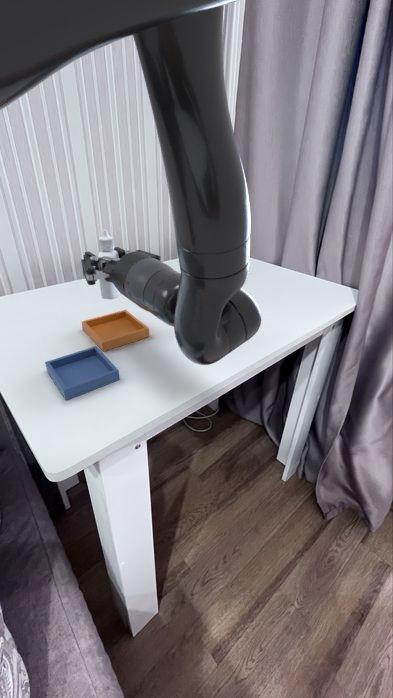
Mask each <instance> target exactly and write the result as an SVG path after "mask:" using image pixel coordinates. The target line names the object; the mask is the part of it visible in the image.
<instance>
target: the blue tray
mask: <svg viewBox="0 0 393 698" xmlns="http://www.w3.org/2000/svg"><path fill="white" fill-rule="evenodd" d="M44 365H45V368H46V372H47V373H48V376H49V377H50V378H51V380H52V381H53V383H54V384H55V386H56V387H57V389H58V391H59V392H60V393H61V395H62V397H63V398H64V400H65V401H68V400H70V399H74V398H76V397H78V396H81V395H83V394H86V393H89V392H91V391H94V390H98V389H99V388H102V387H105V386H107V385H111V384H112V383H115V382H118V381H119V380H121V378H120V372H119V368H118V367H116V365H115V364H114V363H113V362H112V361H111V360H110V359H109V358H108V357H107V356H106V354H104V353H103V351H102V350H101V349H100V348H99V347H98V346H97V345H95V346H92V347H88V348H85V349H82V350H79V351H76V352H73V353H70V354H67V355H63V356H60V357H56V358H53V359H51V360H47V361H45V362H44Z"/></svg>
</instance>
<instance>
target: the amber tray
mask: <svg viewBox="0 0 393 698" xmlns="http://www.w3.org/2000/svg"><path fill="white" fill-rule="evenodd" d="M81 328H82V331H83V332H84V333H85V334H86V335H87V336H88V337H89V338H90V340H92V342H94V344H95V345H96V346H97V347H98V349H99V350H100V351H101V352H102V353H103V352H107V351H109V350H113V349H116V348H119V347H122V346H125V345H129V344H131V343H134V342H137V341H140V340H144V339H147V338H149V337H150V328H149V327H148V326H147V325H145V324H144V323H143V322H142V321H141V320H139V319H138V318H137V317H136V316H134V315H133V314H132V313H130V312H129V311H128V310H127V309H123V310H119V311H116V312H111V313H108V314H105V315H101V316H97V317H93V318H90V319H86V320H82V321H81Z"/></svg>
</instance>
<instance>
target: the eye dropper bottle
mask: <svg viewBox="0 0 393 698" xmlns="http://www.w3.org/2000/svg"><path fill="white" fill-rule="evenodd" d="M98 244H99V252H98V254H97V255H96V256H97V257H103V256H107V257H111V258H119V255H118V252H117V251H115V250H114V248H115V244H114V238H113V237H112V236H110V235H109V232H108V230H107V229H102V235H101V236H100V237H98ZM98 266H99V263H98ZM98 282H99V289H100V297H101V299H103V300H115V299H117V298H118V297H120V296H121V295H122V294H121V293H120V292H119V291H118V290H117V288H116V287H115V286H114V284H113V283H111V282H107V281H105V279H98Z"/></svg>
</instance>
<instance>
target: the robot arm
mask: <svg viewBox="0 0 393 698" xmlns="http://www.w3.org/2000/svg"><path fill="white" fill-rule="evenodd" d="M239 1H240V0H0V111H2V110H4V109H5V108H7V107H8V106H10V105H12V104H13V103H14V102H16V101H17V100H19V99H20V98H22V97H23V96H24V95H26V94H27V93H29V92H31V91H32V90H33V89H35V88H36V87H38V86H39V85H41V84H42V83H44V82H45V81H46V80H47V79H49V78H50V77H52V76H53V75H55V74H56V73H57V72H59V71H61V70H62V69H64V68H65V67H67V66H69V65H70V64H72V63H74V62H75V61H77V60H79V59H81V58H83V57H85V56H87V55H89V54H90V53H93V52H95V51H96V50H99V49H101V48H103V47H105V46H108V45H111V44H113V43H115V42H118V41H121V40H122V39H126V38H128V37H131V36H132V38H133V41H134V45H135V49H136V52H137V55H138V60H139V63H140V68H141V71H142V75H143V78H144V79H143V80H144V84H145V88H146V90H147V91H146V92H147V95H148V99H149V105H150V108H151V112H152V116H153V120H154V125H155V129H156V134H157V139H158V142H159V148H160V153H161V158H162V163H163V168H164V173H165V179H166V184H167V189H168V195H169V196H168V197H169V202H170V208H171V216H172V222H173V230H174V237H175V245H176V251H177V258H178V263H179V264H178V265H179V269H180V272H179V271H176V269H174V268H172V267H171V266H170V265H168V264H167V263H165V262H163V261H162V257H161V255H159V254H155V253H152V252H148V251H145V250H141V249H137V250H135V251H132V250H127V249H124V248H121V247H119V246H114V250H115V251H117V252H118V255H119V258H111V257H107V256H103V257H97V256H98V255H96V254H94V253H92V252H91V251H85V252H84V254H83V256H82V257H83V258H82V259H80V263H81V267H82V275H83V277H84V279H85V281H86V283H87V285H89V286H94V285H96V282H98V281H99V279H105V281H107V282H111V283H113V284H114V286H115V287H116V288H117V290H118V291H119V292H120V293H121V294H120V295H122V296H124V297H125V298H127V299H128V300H129V301H131V302H132V303H134V304H135V305H136V306H138V308H140V309H142V310H143V311H146V312H148V313H150V314H152V315H153V316H154V317H156V318H157V319H159V320H160V321H161V322H163V323H165V324H166V325H168V326H170V327H172V328H173V330H174V336H175V340H176V344H177V346H178V348H179V350H180V351H181V353H182V354H183V356H184V357H186V359H188V360H189V361H191V362H192V363H194V364H196V365H199V366H211V365H213V364H215V363H217V362H220V361H221V360H222V359H223V358H225V357H226V356H228V355H229V354H231V353H232V352H234V351H235V350H236V349H238V348H239V347H241V346H242V345H243V344H245V343H246V342H248V341H249V340H250V339H252V338H253V337H254V336H255V335H256V334H257V333H258V332H259V330H260V328H261V325H262V321H263V319H262V313H261V309H260V306H259V304H258V303H257V301H256V299H254V298H253V296H252V295H251V294H249V292H248V291H246V290H245V289H243V287H244V285H245V284H246V282H247V280H248V277H249V271H250V252H251V251H250V250H251V204H250V196H249V191H248V190H249V189H248V185H247V179H246V175H245V171H244V167H243V163H242V160H241V155H240V151H239V148H238V143H237V140H236V137H235V133H234V128H233V127H234V126H233V124H232V123H233V122H232V119H231V113H230V108H229V102H228V96H227V89H226V82H225V81H226V80H225V71H224V52H223V50H224V49H223V48H224V47H223V33H224V31H223V30H224V11H225V10H224V8H225V6H226V5H230V4H233V3H236V2H239ZM98 263H99V266H98Z"/></svg>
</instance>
